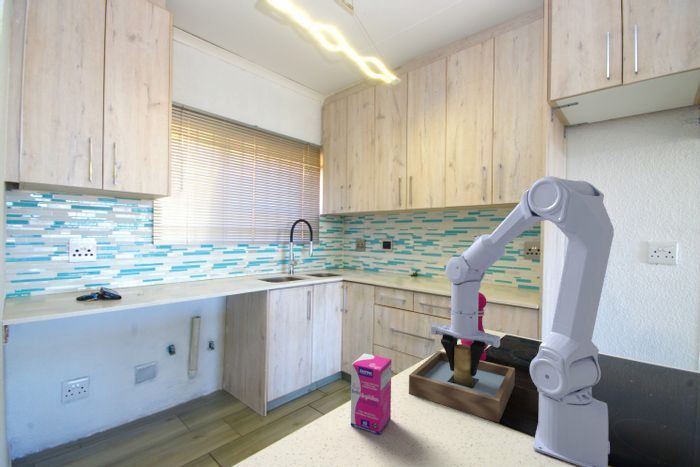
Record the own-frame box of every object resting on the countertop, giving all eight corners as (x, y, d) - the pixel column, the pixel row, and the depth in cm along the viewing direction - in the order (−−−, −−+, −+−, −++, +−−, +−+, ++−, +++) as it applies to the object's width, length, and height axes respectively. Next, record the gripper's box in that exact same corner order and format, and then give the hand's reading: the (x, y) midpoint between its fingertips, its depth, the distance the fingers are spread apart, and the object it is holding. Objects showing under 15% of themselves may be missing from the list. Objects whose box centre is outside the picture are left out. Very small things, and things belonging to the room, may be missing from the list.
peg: (474, 382, 72) (475, 346, 72) (469, 389, 69) (470, 352, 69) (456, 377, 75) (457, 342, 75) (451, 383, 72) (451, 348, 71)
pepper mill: (491, 363, 87) (492, 289, 87) (463, 361, 88) (464, 287, 88) (484, 353, 94) (485, 284, 94) (458, 351, 95) (459, 283, 95)
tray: (514, 385, 74) (514, 368, 74) (498, 422, 60) (499, 401, 59) (438, 365, 85) (438, 350, 85) (408, 393, 70) (409, 375, 70)
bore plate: (508, 385, 74) (509, 377, 74) (494, 418, 61) (494, 407, 61) (440, 368, 83) (440, 360, 83) (415, 392, 70) (415, 383, 70)
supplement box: (349, 426, 58) (350, 362, 58) (363, 410, 63) (364, 352, 63) (379, 436, 55) (380, 369, 55) (391, 418, 60) (392, 357, 60)
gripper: (503, 312, 71) (502, 374, 71) (439, 303, 79) (438, 358, 79) (496, 319, 65) (495, 386, 65) (428, 308, 74) (427, 368, 74)
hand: (463, 371), depth 72 cm, fingers closed on peg, 4 cm apart
